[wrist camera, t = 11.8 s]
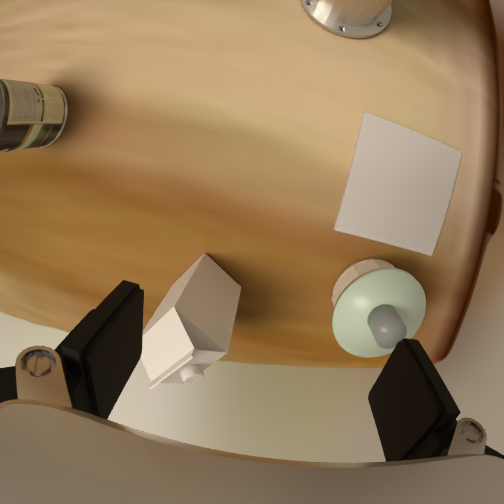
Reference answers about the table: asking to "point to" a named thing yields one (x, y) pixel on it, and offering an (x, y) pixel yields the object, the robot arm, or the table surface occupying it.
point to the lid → (378, 312)
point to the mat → (397, 186)
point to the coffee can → (30, 115)
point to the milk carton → (191, 325)
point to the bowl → (356, 274)
